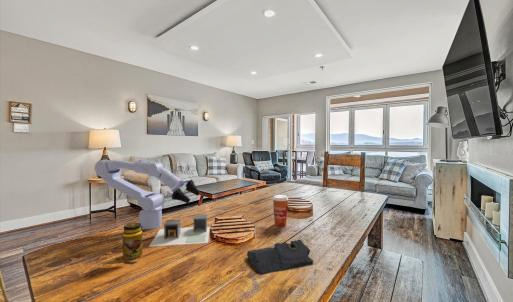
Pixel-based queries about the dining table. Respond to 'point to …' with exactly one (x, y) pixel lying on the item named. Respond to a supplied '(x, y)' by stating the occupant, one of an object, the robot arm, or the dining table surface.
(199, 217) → the right cover
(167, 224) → the left cover
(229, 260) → the dining table surface
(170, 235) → the letter cube
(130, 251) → the condiment
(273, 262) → the folded black cloth
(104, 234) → the dining table surface
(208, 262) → the dining table surface
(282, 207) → the paper cup
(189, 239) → the board
